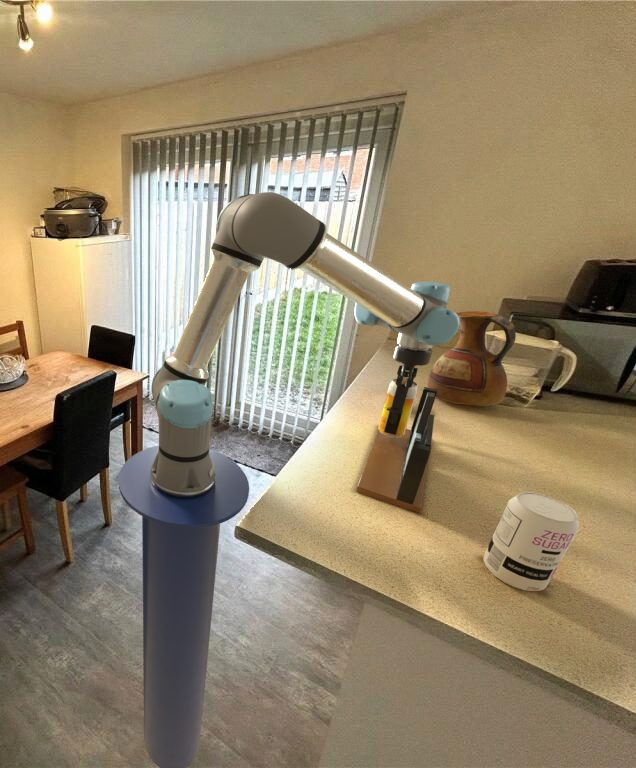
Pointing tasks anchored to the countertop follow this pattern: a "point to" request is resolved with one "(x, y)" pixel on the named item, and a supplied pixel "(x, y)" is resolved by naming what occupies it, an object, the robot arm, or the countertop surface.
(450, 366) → the ceramic pitcher
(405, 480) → the brown base with upright
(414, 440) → the black slab
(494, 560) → the supplement can
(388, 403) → the yellow drink can
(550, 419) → the countertop surface
